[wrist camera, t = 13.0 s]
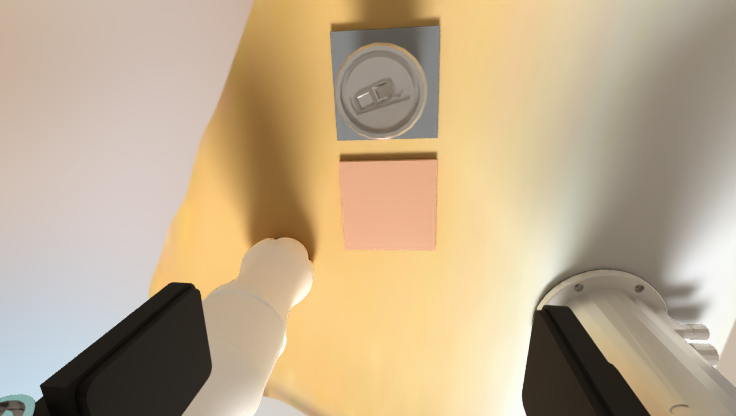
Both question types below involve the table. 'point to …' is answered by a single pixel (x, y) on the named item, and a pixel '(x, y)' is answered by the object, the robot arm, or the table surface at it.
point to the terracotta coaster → (389, 204)
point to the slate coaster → (418, 44)
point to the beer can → (381, 91)
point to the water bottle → (251, 326)
